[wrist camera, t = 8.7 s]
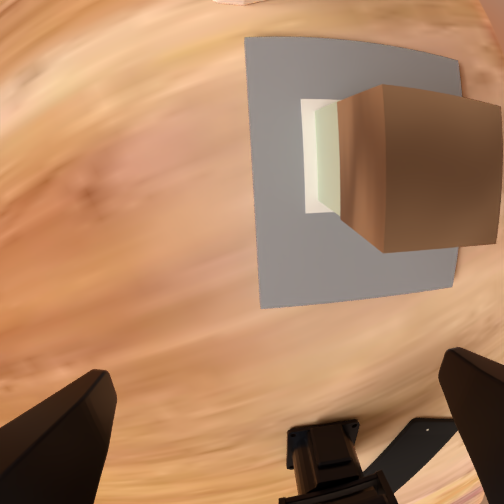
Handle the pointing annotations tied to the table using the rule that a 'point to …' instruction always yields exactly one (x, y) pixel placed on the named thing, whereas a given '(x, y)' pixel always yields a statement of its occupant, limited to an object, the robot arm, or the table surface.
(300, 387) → the table surface
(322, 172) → the sage cube
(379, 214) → the walnut cube
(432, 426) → the cell phone
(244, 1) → the white cup
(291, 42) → the building board
